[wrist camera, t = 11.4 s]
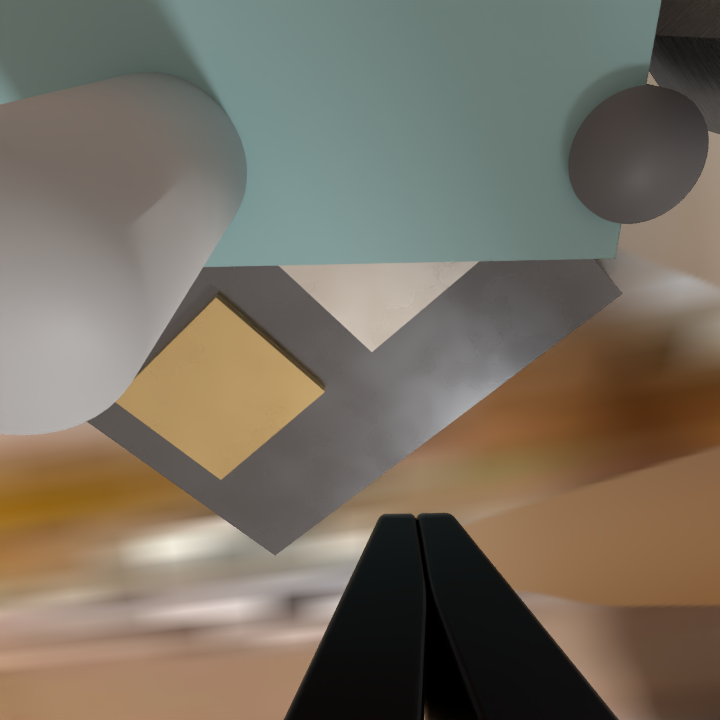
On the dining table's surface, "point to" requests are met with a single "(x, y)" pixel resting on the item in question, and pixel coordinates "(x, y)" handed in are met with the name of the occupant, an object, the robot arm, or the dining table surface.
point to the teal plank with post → (302, 156)
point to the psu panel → (358, 352)
